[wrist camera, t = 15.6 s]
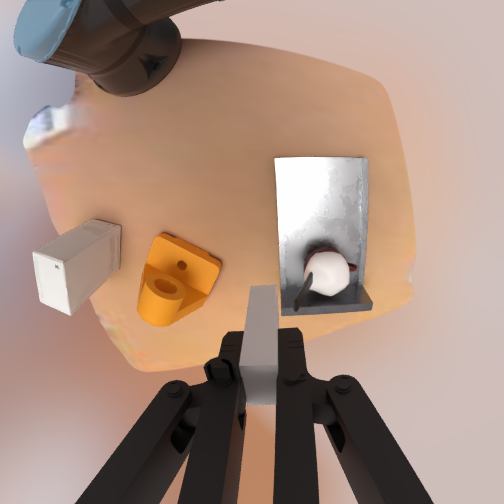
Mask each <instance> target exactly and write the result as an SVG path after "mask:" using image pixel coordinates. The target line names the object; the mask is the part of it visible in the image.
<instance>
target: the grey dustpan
mask: <svg viewBox="0 0 504 504" xmlns="http://www.w3.org/2000/svg"><path fill="white" fill-rule="evenodd" d="M275 172H276V189H277V209H278V230H279V255H280V285H281V316H293V315H314V314H330V313H345V312H357V311H369V310H372V305H373V302H372V300H371V299H370V297H369V295H368V294H367V292H366V290H365V289H364V287H363V282H364V272H365V261H366V247H367V230H368V194H369V179H368V158H353V157H299V158H275ZM321 247H328V248H333V249H335V250H337V251H338V252H339V253H341V254H342V255H343V256H344V257H345V259H346V261H347V262H349V263H352V264H355V265H356V266H357V270H356V271H353V272H350V271H349V274H350V277H349V284H348V285H347V286H346V288H345V289H343V290H341V291H340V292H338V293H337V294H335V295H333V296H327V295H323V294H320V293H318V292H316V291H313V290H310V289H309V291H308V293H307V295H306V297H305V298H304V300H303V302H302V304H301V306H300V308H299V310H298V311H297V312H295V311H294V299H295V297H296V296H297V294H298V292H299V291H300V289H301V287H302V285H303V284H304V282H305V279H304V263H305V261H306V259H307V257H308V255H309V254H310V253H311V252H312V251H314V250H315V249H317V248H321Z"/></svg>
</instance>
